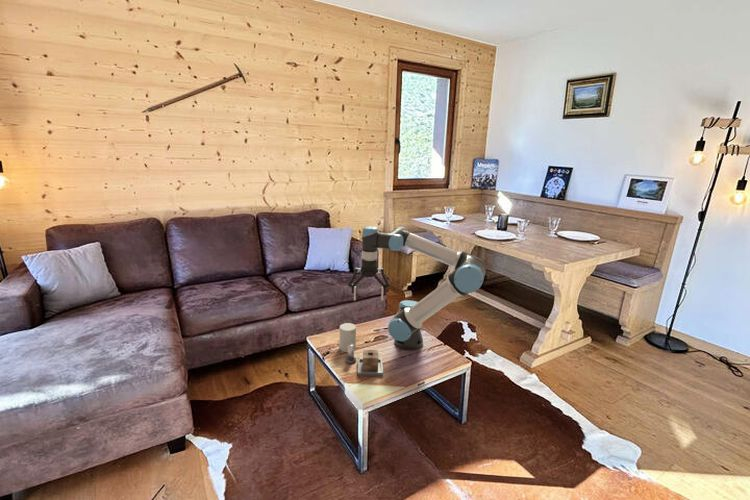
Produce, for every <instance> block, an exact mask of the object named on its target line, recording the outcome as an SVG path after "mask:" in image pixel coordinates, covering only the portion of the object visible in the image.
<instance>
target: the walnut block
mask: <svg viewBox="0 0 750 500" xmlns="http://www.w3.org/2000/svg"><path fill="white" fill-rule="evenodd" d="M362 359H363V372H378V359H379V350H378V349H363V350H362Z"/></svg>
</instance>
